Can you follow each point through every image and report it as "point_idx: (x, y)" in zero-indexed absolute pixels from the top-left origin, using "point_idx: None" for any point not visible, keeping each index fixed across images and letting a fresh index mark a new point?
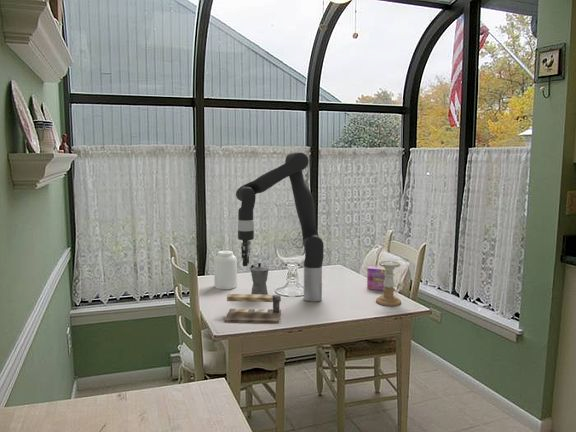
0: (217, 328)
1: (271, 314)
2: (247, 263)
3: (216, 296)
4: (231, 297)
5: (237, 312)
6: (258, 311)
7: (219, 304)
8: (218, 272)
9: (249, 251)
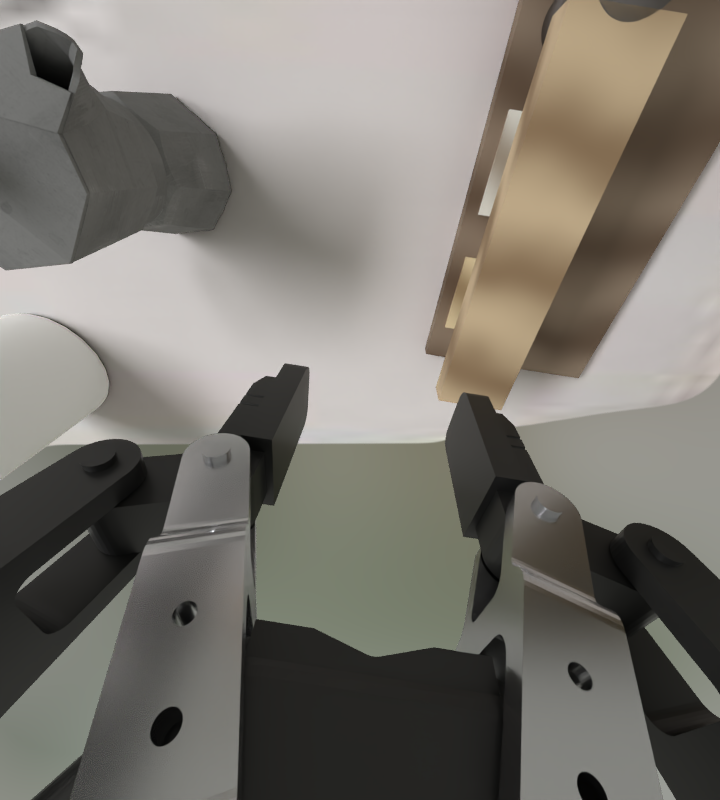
0: (637, 398)
1: None
2: (492, 413)
3: (215, 400)
4: (510, 386)
5: None
6: None
7: (325, 389)
8: (40, 444)
9: (247, 528)
